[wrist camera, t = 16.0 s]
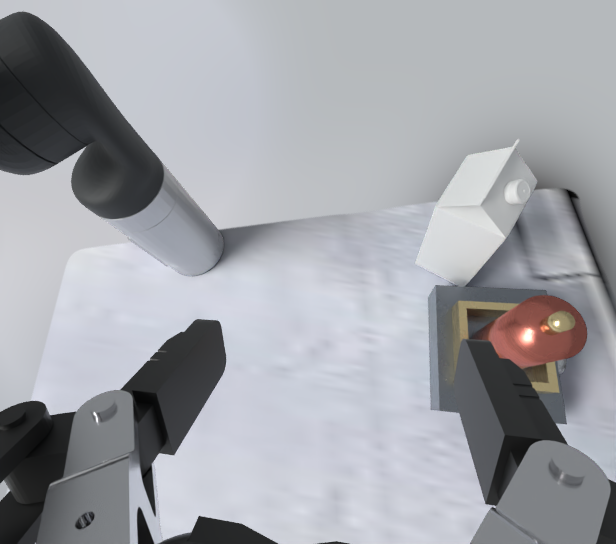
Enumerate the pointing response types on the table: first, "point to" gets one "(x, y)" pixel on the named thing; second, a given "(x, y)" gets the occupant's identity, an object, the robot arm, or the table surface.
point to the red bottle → (536, 332)
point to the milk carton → (476, 214)
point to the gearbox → (463, 325)
